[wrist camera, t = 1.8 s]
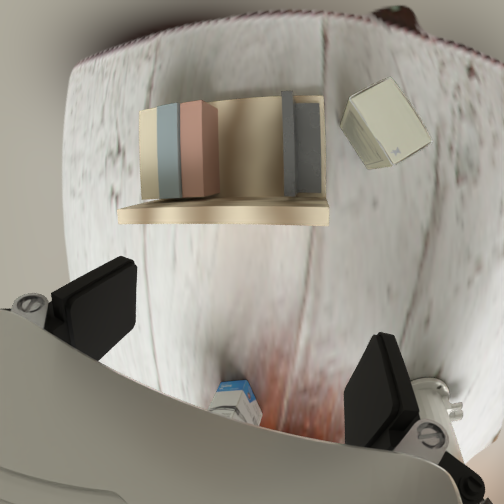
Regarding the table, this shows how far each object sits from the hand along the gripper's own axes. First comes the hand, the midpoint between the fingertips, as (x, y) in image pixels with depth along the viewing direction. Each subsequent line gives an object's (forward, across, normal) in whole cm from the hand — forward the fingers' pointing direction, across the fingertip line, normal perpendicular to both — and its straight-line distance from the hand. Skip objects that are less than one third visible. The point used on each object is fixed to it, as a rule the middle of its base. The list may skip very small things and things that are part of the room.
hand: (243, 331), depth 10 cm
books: (+23, +14, -5) cm, 28 cm away
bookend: (+23, +1, -8) cm, 25 cm away
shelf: (+25, +8, -6) cm, 27 cm away
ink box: (+25, 0, +30) cm, 39 cm away
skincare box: (+25, -6, -11) cm, 28 cm away
